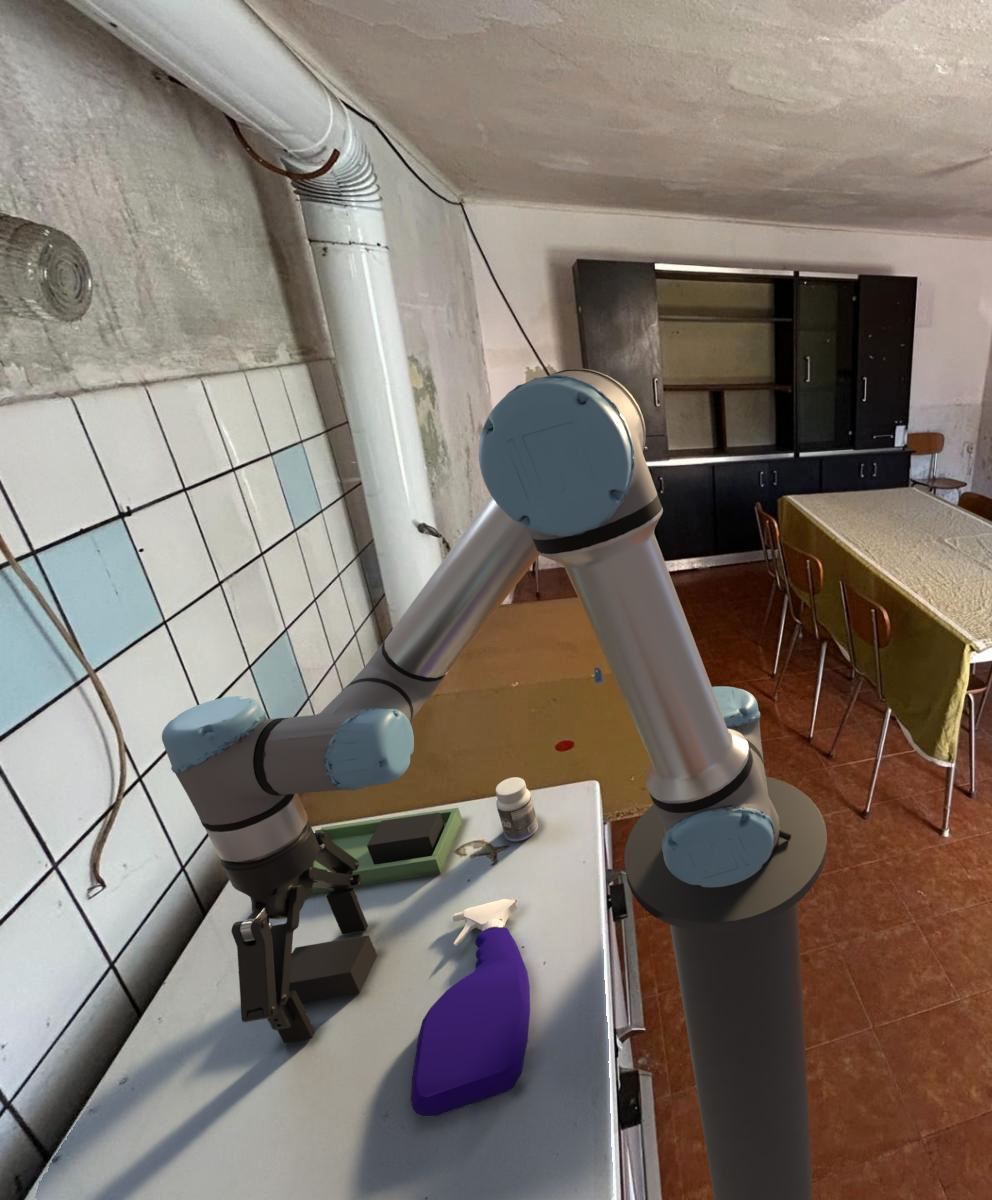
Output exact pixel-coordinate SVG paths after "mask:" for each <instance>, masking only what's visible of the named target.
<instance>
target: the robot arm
mask: <svg viewBox="0 0 992 1200" xmlns="http://www.w3.org/2000/svg"><path fill="white" fill-rule="evenodd" d="M645 447H646V424H645V419H644V416H643V413H642V411H641V407H640V406H639V404H638V402H637V401H636V399H635V398H634V396H633V395H632V393H631V392H630V391H629V390H628V389H627V388H626V387H625V386H624V385H622V383H621V382H619V381H618V380H616V379H614V378H613V377H611V376H610V375H607V374H605V373H603V372H599V371H597V370H594V369H589V368H588V369H587V368H567V369H563V370H559V371H557V372H555V373H554V372H553V373H552V374H550V375H546V376H541V377H534V378H533V379H530V380H529V381H526V382H523V383H522V384H517V385H516V386H515V387H514V388H513V389H511V390H510V391H508V393H506V395H505V396H504V397H503V398H501V399H500V401H498V403H496V404H495V406H494V407H493V409H492V410H491V411H490V413H489V414H488V416H487V418H486V420H485V422H484V424H483V426H482V429H481V433H480V436H479V441H478V462H479V470H480V473H481V477H482V479H483V482H484V484H485V487H486V489H487V491H488V493H489V494H490V496H489V497H488V499H486V501H485V502H484V504H483V505H482V506H481V508H480V509H479V511H478V512H477V514H475V516H474V517H473V519H472V520H471V521H470V523H469V524H468V525H467V527H466V528H465V530H464V531H463V533H462V534H461V535H460V537H459V538H458V540H457V541H456V542H455V543H454V545H453V546H452V548H451V549H450V550H449V552H448V553H447V554H446V555H445V557H444V559H443V560H442V562H440V564H439V565H438V567H437V569H435V571H434V572H433V573H432V575H431V576H430V577H429V579H428V581H427V582H426V583H425V585H424V586H423V587H422V588H421V590H420V591H419V593H418V594H417V596H416V597H415V598H414V599H413V600H412V602H411V604H410V605H409V606H408V608H407V609H406V611H405V612H404V613H403V615H402V616H401V617H400V619H399V620H398V622H397V623H396V624H395V626H394V627H393V628H392V630H391V631H390V632H389V634H388V635H387V637H386V638H385V639H384V641H383V642H382V643H381V644H380V646H379V647H378V648H377V650H376V651H375V652H374V654H373V655H372V656H371V658H370V659H369V661H368V662H367V663H366V664H365V666H364V667H363V668H362V669H361V670H360V671H359V672H358V674H357V675H356V676H355V677H354V678H353V679H352V680H351V681H350V682H349V683H348V684H347V685H346V686H345V687H344V688H343V689H342V690H341V691H340V692H339V693H338V695H336V697H334V699H332V700H331V701H330V702H329V703H328V705H326V706H325V707H324V708H323V709H322V710H321V711H320V712H319V713H317V714H312V715H311V714H310V715H300V716H291V717H276V718H267V713H266V712H267V711H266V710H264V709H263V708H262V706H261V704H260V703H259V701H258V700H256V699H255V698H252V697H246V696H243V695H233V696H224V697H220V698H215V699H212V700H208V701H206V702H203V703H200V704H198V705H195V706H192V707H190V708H188V709H186V710H184V711H183V712H181V713H179V714H178V715H177V716H176V717H174V718H173V719H171V720H170V721H169V722H167V724H166V725H165V726H164V728H163V730H162V731H161V741H162V744H163V747H164V750H165V752H166V754H167V757H168V760H169V762H170V765H171V767H170V768H171V772H173V773H174V774H175V776H176V778H177V779H178V781H179V783H180V785H181V787H182V788H183V790H184V792H185V793H186V795H187V797H188V799H189V801H190V803H191V805H192V807H193V808H194V811H195V812H196V814H197V816H198V818H199V821H200V823H201V825H202V827H203V828H204V829H205V831H206V833H207V835H208V837H209V839H210V841H211V844H212V846H213V848H214V850H215V852H216V854H217V856H218V857H219V859H221V860H220V863H221V866H222V868H223V870H224V872H225V874H226V876H227V879H228V880H229V882H230V884H231V885H232V887H233V889H235V890H236V891H238V892H240V893H242V894H244V895H246V896H248V897H249V898H250V902H251V911H252V912H251V913H250V915H249V916H248V917H247V918H246V919H245V920H240V921H235V922H233V924H232V926H231V935H232V937H233V939H234V943H235V945H236V949H237V967H238V968H237V969H238V981H239V984H238V985H239V998H240V1012H241V1013H240V1014H241V1022H243V1023H248V1022H254V1021H255V1022H256V1021H260V1020H267V1021H268V1023H269V1025H270V1027H271V1029H272V1030H274V1031H277V1033H278V1034H279V1037H280V1038H281V1040H282V1042H283V1044H288V1043H289V1044H290V1043H293V1042H300V1041H305V1040H311V1039H313V1037H314V1035H315V1034H316V1030H315V1027H314V1026H313V1023H312V1021H311V1020H310V1017H309V1014H308V1013H307V1011H306V1009H305V1007H304V1005H303V1004H302V1003H301V1001H300V999H299V997H298V995H297V993H296V991H295V990H294V991H289V982H290V969H291V955H292V952H293V939H294V931H295V930H297V929H298V928H299V925H300V917H301V915H300V914H301V910H302V909H303V907H304V904H305V903H306V901H307V900H308V899H309V898H310V896H312V894H311V893H312V887H317V888H326V889H332V888H333V889H334V890H332V891H327V893H326V895H325V898H326V900H327V902H328V905H329V907H330V909H331V912H332V914H333V916H334V919H335V921H336V923H337V925H338V928H339V930H340V933H341V935H342V936H344V935H349V934H355V933H361V932H362V933H363V932H366V931H367V930H368V927H369V924H368V922H367V918H366V916H365V915H364V911H363V909H362V907H361V905H360V902H359V900H358V899H359V898H358V895H357V893H356V891H355V887H353V885H358V884H360V881H361V876H360V874H357V875H352V873H353V871H356V870H357V869H358V867H359V862H358V861H357V860H356V859H355V858H353V857H352V856H351V855H349V854H348V853H347V852H345V851H344V850H343V849H342V848H340V847H339V846H338V845H336V844H335V843H334V842H332V841H331V840H330V838H329V836H328V834H327V832H326V831H325V830H324V829H322V830H320V829H316V830H313V827H312V825H311V823H310V822H309V821H308V820H309V819H308V814H307V812H306V810H305V807H304V805H303V803H302V801H301V798H300V796H299V794H307V793H320V792H333V791H344V790H345V791H357V790H361V789H364V788H367V787H374V786H379V785H387V784H390V783H393V782H395V781H398V779H400V778H401V777H402V776H403V775H404V774H405V773H406V771H407V770H408V768H409V766H410V765H411V764H410V763H411V755H413V754H414V750H415V749H414V748H415V736H414V731H413V727H412V724H411V722H412V720H413V719H414V717H416V715H417V714H418V712H419V711H420V710H421V708H423V706H424V705H425V704H426V702H427V701H428V700H429V699H430V698H431V696H432V695H433V694H434V693H435V691H436V690H437V689H438V687H439V686H440V684H441V683H442V681H443V680H444V679H445V678H446V676H447V674H448V673H449V672H450V671H451V670H452V668H453V667H454V665H455V664H456V663H457V662H458V660H459V659H460V658H461V656H462V655H463V654H464V653H465V651H466V650H467V648H468V647H469V646H470V645H471V644H472V642H473V641H474V639H475V638H476V637H477V636H478V635H479V634H480V632H481V631H482V630H483V628H484V627H485V625H486V624H487V623H488V622H489V620H491V618H492V617H493V615H494V614H495V613H496V612H497V610H498V609H499V608H500V606H501V605H502V604H503V602H505V600H506V599H507V597H508V596H509V595H510V594H511V592H512V591H513V590H514V588H516V586H517V585H518V583H519V582H520V581H521V580H522V578H523V577H524V576H525V575H526V573H527V572H528V571H529V569H530V568H531V567H532V565H533V564H534V563H535V562H536V561H537V559H538V558H539V556H542V557H544V558H547V559H549V560H551V561H554V562H557V563H559V564H561V565H562V566H563V567H564V570H565V572H566V574H567V576H568V578H569V581H570V583H571V585H572V588H573V589H574V592H575V595H576V596H577V599H578V601H579V603H580V605H581V608H582V610H583V612H584V615H585V617H586V618H587V621H588V624H589V625H590V628H591V630H592V632H593V635H594V637H595V639H596V641H597V643H598V645H599V648H600V650H601V652H602V655H603V656H604V657H603V658H604V659H605V661H606V663H607V666H608V668H609V670H610V672H611V673H610V674H611V675H612V677H613V679H614V681H615V683H616V687H617V688H618V690H619V692H620V695H621V697H622V700H623V701H624V703H625V706H626V708H627V711H628V713H629V715H630V718H631V719H632V722H633V724H634V726H635V729H636V731H637V733H638V735H639V737H640V739H641V742H642V745H643V747H644V748H645V751H646V753H647V755H648V758H649V760H650V764H649V766H648V768H647V770H646V773H645V777H644V781H645V786H646V789H647V792H648V794H649V797H650V798H651V801H652V803H653V804H654V805H655V808H656V810H657V812H658V814H659V816H660V818H661V821H662V824H663V828H664V837H663V840H662V846H661V847H662V851H663V856H664V861H665V864H666V866H667V868H668V869H669V871H670V872H671V873H672V874H673V875H674V876H675V877H677V878H678V879H680V880H681V881H683V882H686V883H688V884H691V885H701V886H702V887H723V886H728V885H732V884H735V883H738V882H741V881H743V880H745V879H747V878H749V877H751V876H752V875H754V874H755V873H756V872H757V871H759V870H760V869H761V867H762V866H763V865H764V864H765V863H767V862H768V861H769V860H770V858H771V857H772V856H773V855H774V853H775V852H776V850H777V848H778V845H779V842H780V837H781V838H783V839H786V840H788V841H789V840H790V838H791V834H790V833H787V832H784V831H782V830H780V821H779V817H778V815H777V812H776V810H775V808H774V806H773V804H772V802H771V800H770V798H769V796H768V789H767V782H766V777H767V775H766V769H765V762H764V753H763V746H762V737H761V724H760V718H761V712H760V711H759V710H760V709H759V705H758V701H757V698H756V697H755V696H754V695H753V694H752V693H751V692H749V691H748V690H745V689H742V688H739V687H738V688H737V687H734V686H723V685H721V686H718V685H717V686H712V683H711V681H710V679H709V676H708V672H707V671H706V668H705V665H704V663H703V660H702V657H701V655H700V652H699V649H698V647H697V645H696V641H695V638H694V636H693V633H692V631H691V628H690V625H689V622H688V620H687V617H686V615H685V612H684V609H683V607H682V604H681V602H680V599H679V596H678V593H677V591H676V588H675V585H674V583H673V580H672V577H671V575H670V572H669V570H668V569H669V568H668V566H667V564H666V562H665V558H664V556H663V553H662V550H661V548H660V546H659V542H658V540H657V538H656V534H655V529H656V527H657V524H658V522H659V521H660V518H661V517H662V515H663V512H664V509H663V506H662V503H661V499H660V498H659V495H658V492H657V489H656V487H655V484H654V480H653V477H652V475H651V472H650V469H649V466H648V464H647V462H646V459H645V455H644V450H645ZM314 861H317V862H318V863H319V864H321V865H322V866H324V867H325V868H327V869H328V870H330V871H331V872H328V871H327V870H325V869H318V868H317V867H314ZM283 919H286V922H285V923H280V924H279V923H277V924H273V923H272V922H270V920H275V921H277V920H283Z"/></svg>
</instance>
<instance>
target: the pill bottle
mask: <svg viewBox="0 0 992 1200" xmlns="http://www.w3.org/2000/svg"><path fill="white" fill-rule="evenodd" d="M495 795H496V798H497V799H496V802H495V805H496V809H497V813H498V816H499V820H500V824H501V827H502V830H503V833H504V836H505V838H506V839H507V840H508V841H511V842H521V841H524V840H526V839H528V838H530V837H532V836H533V835H534V834H535V833H536V832H537V830H538V827H539V822H538V817H537V813H536V810H535V806H534V802H533V798H532V793H531V792H530V790H529V789H528V788H527V785H526V782H525V779H523V778H522V777H516V776H515V777H508V778H506V779H504V780H501V781H500V782H499V783H497V785H496V786H495Z"/></svg>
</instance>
